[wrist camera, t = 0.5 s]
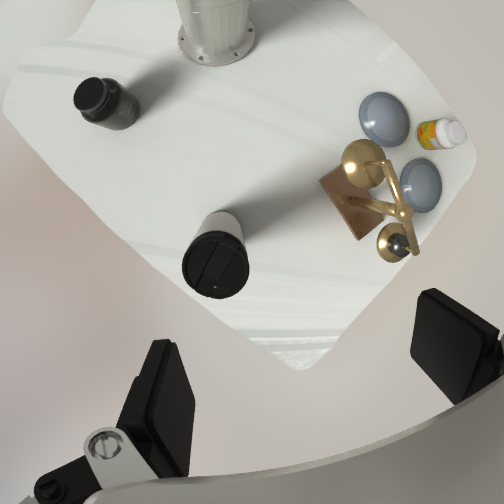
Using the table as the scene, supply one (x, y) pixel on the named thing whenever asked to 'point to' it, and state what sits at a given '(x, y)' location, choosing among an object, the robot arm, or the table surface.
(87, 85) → the supplement bottle
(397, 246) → the balance
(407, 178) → the dish low side
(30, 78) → the table surface
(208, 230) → the travel mug
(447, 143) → the supplement bottle
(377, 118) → the dish high side
